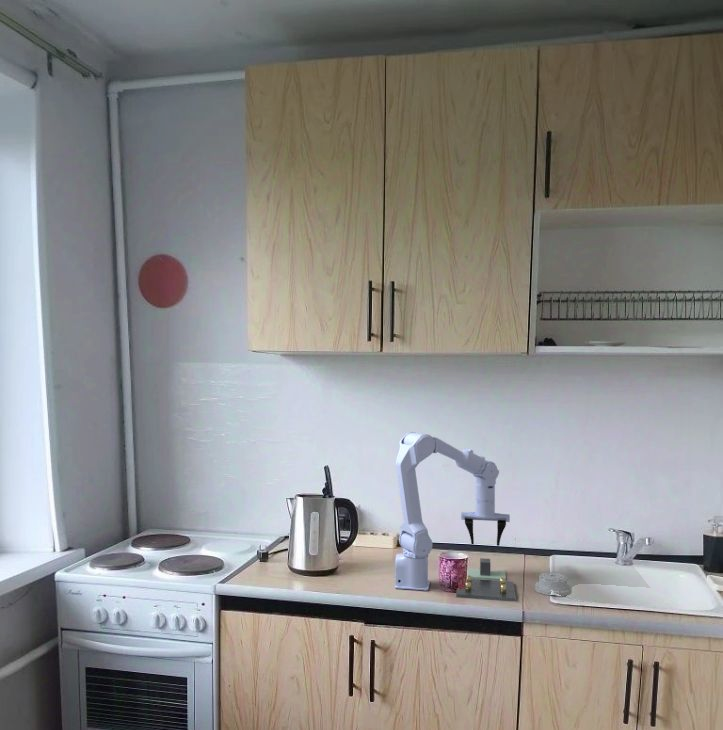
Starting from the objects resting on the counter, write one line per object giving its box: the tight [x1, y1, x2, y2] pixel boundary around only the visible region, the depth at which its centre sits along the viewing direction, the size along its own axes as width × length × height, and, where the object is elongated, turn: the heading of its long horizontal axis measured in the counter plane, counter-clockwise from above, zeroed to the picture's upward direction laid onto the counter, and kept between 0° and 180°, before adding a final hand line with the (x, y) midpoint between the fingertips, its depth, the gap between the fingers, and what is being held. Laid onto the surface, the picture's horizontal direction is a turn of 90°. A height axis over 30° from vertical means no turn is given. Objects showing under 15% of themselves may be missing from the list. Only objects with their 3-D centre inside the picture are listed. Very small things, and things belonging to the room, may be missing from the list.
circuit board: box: [467, 557, 507, 581], centre depth 188 cm, size 12×8×5 cm, turn 80°
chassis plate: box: [455, 576, 517, 602], centre depth 175 cm, size 16×14×3 cm
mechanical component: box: [534, 571, 573, 597], centre depth 175 cm, size 10×4×10 cm
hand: (485, 544), depth 189 cm, fingers open, 7 cm apart
